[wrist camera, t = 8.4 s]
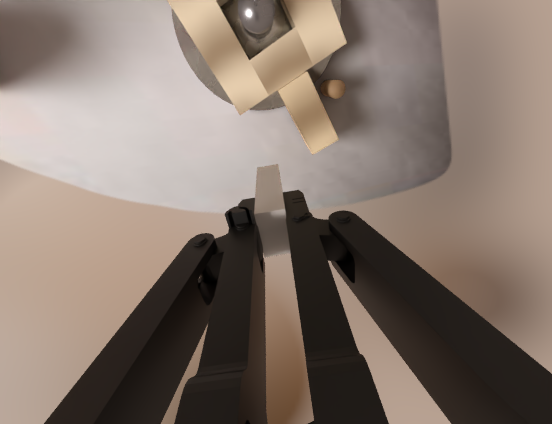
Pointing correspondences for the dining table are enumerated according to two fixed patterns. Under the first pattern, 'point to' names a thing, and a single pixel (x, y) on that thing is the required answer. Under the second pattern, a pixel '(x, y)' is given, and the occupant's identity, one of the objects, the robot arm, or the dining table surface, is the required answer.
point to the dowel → (333, 88)
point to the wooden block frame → (270, 60)
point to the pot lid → (247, 41)
